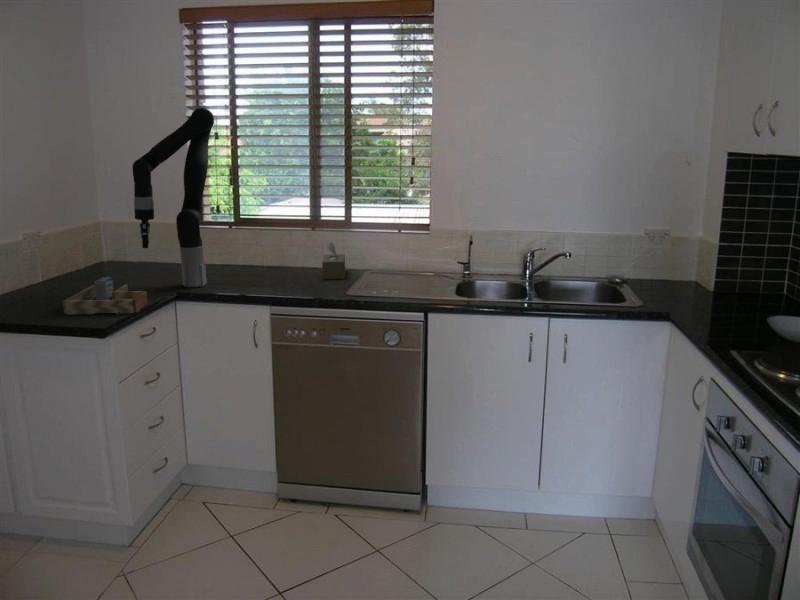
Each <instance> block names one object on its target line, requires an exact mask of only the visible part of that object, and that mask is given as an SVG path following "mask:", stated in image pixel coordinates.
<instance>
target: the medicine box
mask: <svg viewBox="0 0 800 600" xmlns="http://www.w3.org/2000/svg"><path fill="white" fill-rule="evenodd" d="M113 281H114V280H113V277H112V276H105V277H104V276H103V277H100V278H98V279H97V280H95V281H93V285H94V286H95V293H96V297H95V300H111V299H112V300H113V296H112V292H113V291H115V290H114V282H113Z"/></svg>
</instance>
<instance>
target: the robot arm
mask: <svg viewBox="0 0 800 600" xmlns="http://www.w3.org/2000/svg"><path fill="white" fill-rule="evenodd" d="M214 124H215V117H214V114H213V112H212V111H211V110H210V109H208V108H205V107H197V108H195V109H194V110H193V111H192V113H191V114H190V116H189V117H188V118H187V120H186V121H185V122H183V124H182V125H181V126H180V127H178V128H177V129H175V131H173V132H171V133H170V134H169V135H167V136H165V137H164V138H162V139H161V140H160V141H159V142H158V143H156V144H155V145H154V146H153V147H151V149H150V150H149V151H148V152H146V153H145V154H143V155H142V156H140V157H139V158H138V159H136V160H135V161H134V162H133V163H132V177H133V184H134V185H133V187H134V188H133V189H134V190H133V191H134V192H133V193H134V194H133V195H134V199H133V205H134V207H133V208H134V219H135V220H138V221H141V223H139V229H140V230H139V232H140V235H141V236H140V238H141V244H142V249H148V248H149V245H150V242H149V241H150V240H149V239H150V238H149V236H150V231H151V223H149V221H151V220H154V219H155V208H154V207H155V206H154V205H155V203H154V199H153V198H154V197H153V196H154V194H153V193H154V192H153V186H152V172H153V171H155V169H157V167H158V166H160V165H161V164H163V163H164V162H167V160H168V159H169V158H172V156H173V155H174V154H175V153H177V152H178V151H179V150H180V149H181V148H183V146H184V145H186V144H187V143H188V142H189V144H188V148H187V152H186V156H185V161H184V167H183V169H184V170H183V190H184V192H183V193H184V195H183V202H182V206H181V210H180V212H178V214H177V215H176V221H175V222H176V230H177V231H176V232H177V239H178V242H179V252H180V263H181V273H182V283H183V287H184V288H198V287H199V286H200V287H205V285H207V283H208V282H207V281H208V280H207V271H206V269H207V268H206V262H205V260H204V251H203V241H202V237H201V228H200V224H201V222H202V203H203V201H202V200H203V194H204V191H205V186H206V180H207V175H208V167H209V142H210V141H209V140H210V138H211V137H210V136H211V132H212V128H213V126H214Z"/></svg>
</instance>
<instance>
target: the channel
mask: <svg viewBox="0 0 800 600" xmlns="http://www.w3.org/2000/svg"><path fill="white" fill-rule="evenodd" d="M147 292H148V291H145V290H139V291H138V290H137V291H136V290H134V291H133V290H132V291H129V288H128V284H127V283H125V284H123V285H122V286H120V287H119V288H117V289H115V290H114V291H113V292H112V296H113V299H112V300H96V293H95V286H94V284H91V285H90V286H88V287H86V288H84V289H82V290H81V291H79V292H77V293H75V294H73V295H71V296H70V297H68V298H65V299H64V300H63V301H62V306H63V307H62V308H63V315H64V314H66V315H96V314H95V313H115V314H135V313H138V312H140V311H141V310H142V309H143V308H145V307H146V306H147V305H148V304H149V303H148V302H149V301H148V293H147ZM146 304H147V305H146ZM145 305H146V306H145ZM144 306H145V307H144ZM141 308H142V309H141ZM140 309H141V310H140ZM119 312H120V313H119ZM134 312H135V313H134Z"/></svg>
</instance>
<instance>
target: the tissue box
mask: <svg viewBox="0 0 800 600" xmlns="http://www.w3.org/2000/svg"><path fill="white" fill-rule="evenodd" d="M327 249H328V250H329V251H330V252H331V253H332V254H324V255H323V258H322V262H321V265H322V266H321V267H322V269H321V270H322V280H345V278H346V277H345V276H346V255H345V254H344V253H343V254H337V251H336V245H335V244H334V242H333V241H330V242H329V244H328V246H327Z"/></svg>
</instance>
